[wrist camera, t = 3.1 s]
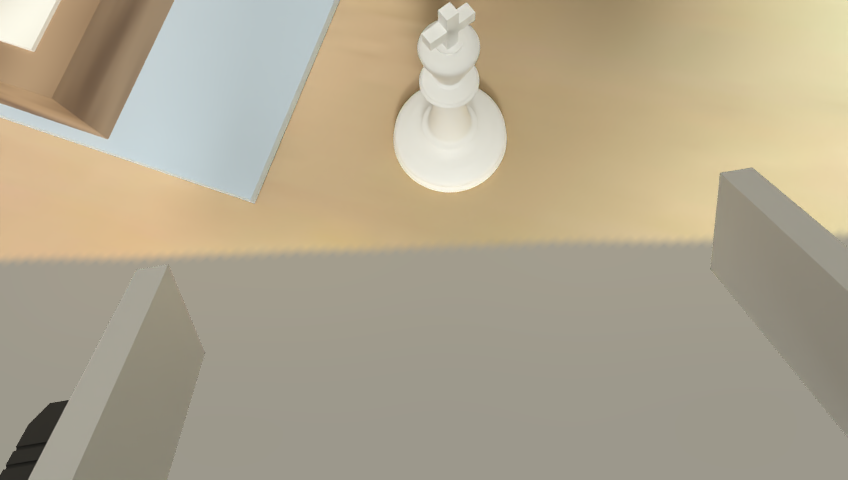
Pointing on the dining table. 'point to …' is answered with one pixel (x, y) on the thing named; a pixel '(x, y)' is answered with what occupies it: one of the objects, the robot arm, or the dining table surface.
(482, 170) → the chess piece
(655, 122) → the dining table surface
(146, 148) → the pale blue board
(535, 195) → the dining table surface
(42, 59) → the walnut plinth
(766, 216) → the robot arm
